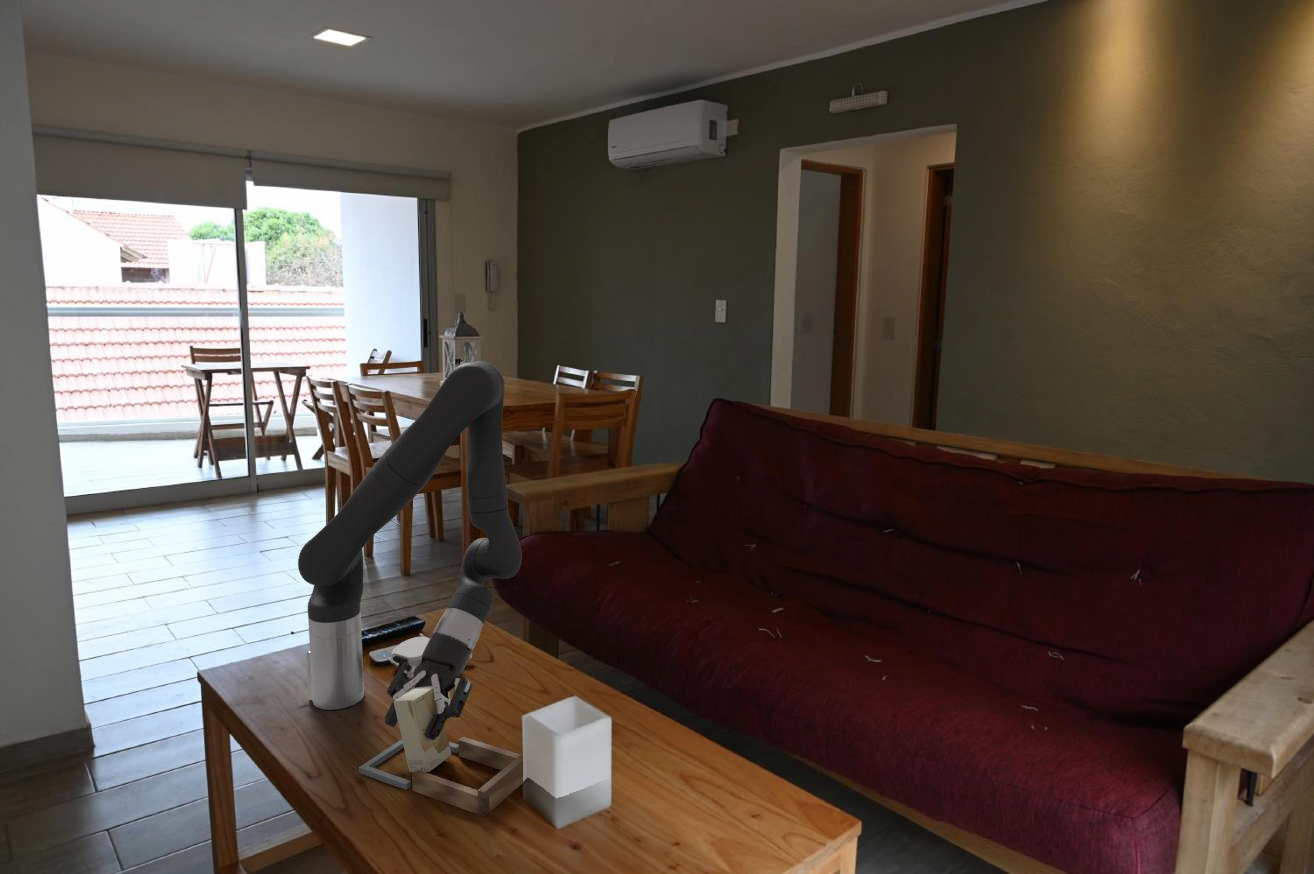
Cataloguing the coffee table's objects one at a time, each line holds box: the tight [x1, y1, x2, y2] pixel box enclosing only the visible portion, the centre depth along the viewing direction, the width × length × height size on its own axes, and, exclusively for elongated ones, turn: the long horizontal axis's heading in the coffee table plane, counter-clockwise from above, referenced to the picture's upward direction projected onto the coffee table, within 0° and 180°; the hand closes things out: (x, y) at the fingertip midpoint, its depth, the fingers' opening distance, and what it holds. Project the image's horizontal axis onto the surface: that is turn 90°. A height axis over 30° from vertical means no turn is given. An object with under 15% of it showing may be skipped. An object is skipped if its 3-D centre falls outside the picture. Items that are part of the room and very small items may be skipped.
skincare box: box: [394, 686, 452, 773], centre depth 138 cm, size 6×4×12 cm
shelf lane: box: [411, 736, 524, 817], centre depth 134 cm, size 14×12×4 cm
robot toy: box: [382, 633, 473, 669], centre depth 174 cm, size 12×4×15 cm
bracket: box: [358, 738, 459, 791], centre depth 140 cm, size 10×13×1 cm
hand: (409, 731), depth 137 cm, fingers open, 8 cm apart
